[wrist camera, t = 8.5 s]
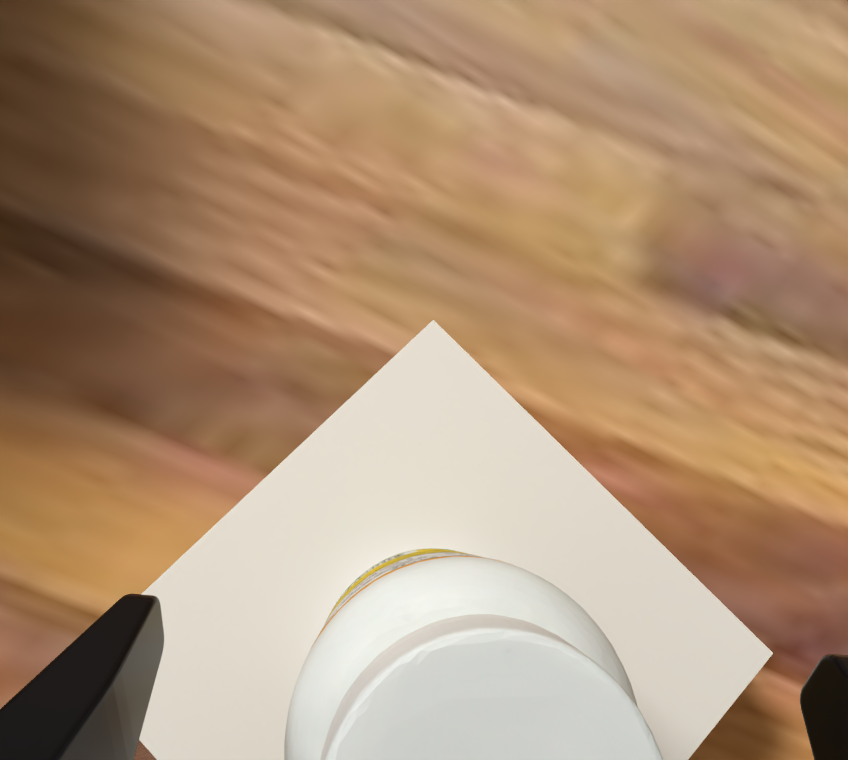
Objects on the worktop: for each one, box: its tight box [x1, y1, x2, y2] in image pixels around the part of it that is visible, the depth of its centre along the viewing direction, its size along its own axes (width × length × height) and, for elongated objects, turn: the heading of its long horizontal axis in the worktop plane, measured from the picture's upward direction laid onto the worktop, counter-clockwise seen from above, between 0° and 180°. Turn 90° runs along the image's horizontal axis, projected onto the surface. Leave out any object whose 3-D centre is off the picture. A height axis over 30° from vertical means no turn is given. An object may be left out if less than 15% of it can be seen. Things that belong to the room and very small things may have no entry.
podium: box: [139, 320, 773, 760], centre depth 19 cm, size 12×12×4 cm
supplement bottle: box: [284, 548, 663, 760], centre depth 12 cm, size 5×5×10 cm
